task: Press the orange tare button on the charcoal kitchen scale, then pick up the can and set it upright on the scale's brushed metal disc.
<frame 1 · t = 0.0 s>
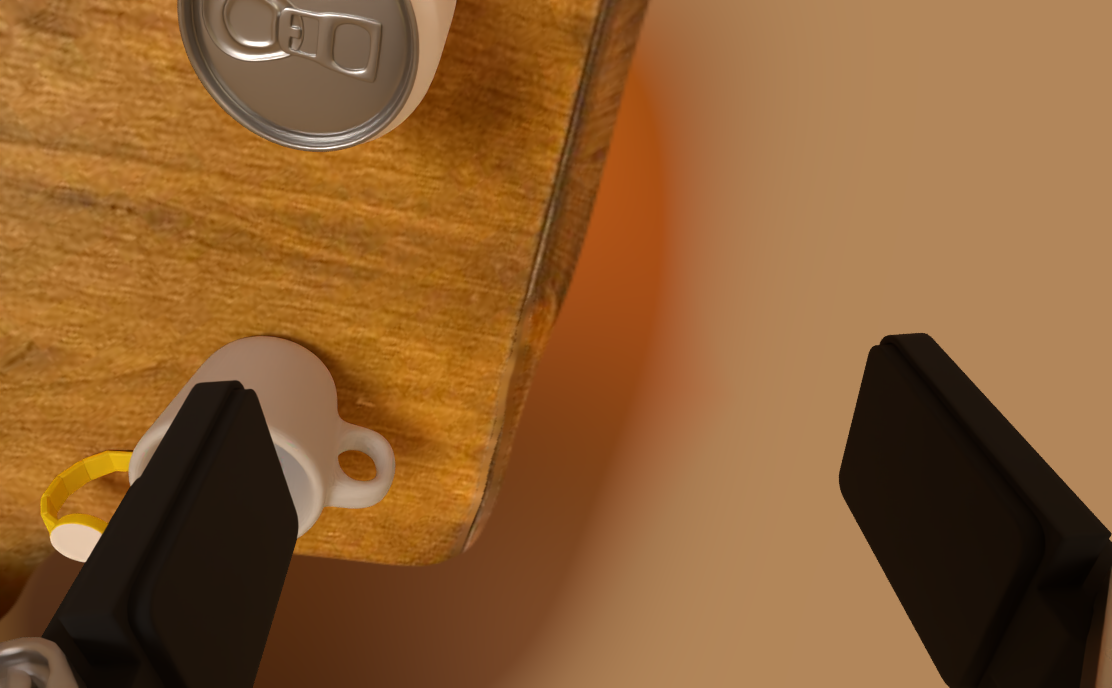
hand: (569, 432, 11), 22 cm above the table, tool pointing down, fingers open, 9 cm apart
cup: (303, 385, 38), on the table
watch: (137, 456, 40), on the table
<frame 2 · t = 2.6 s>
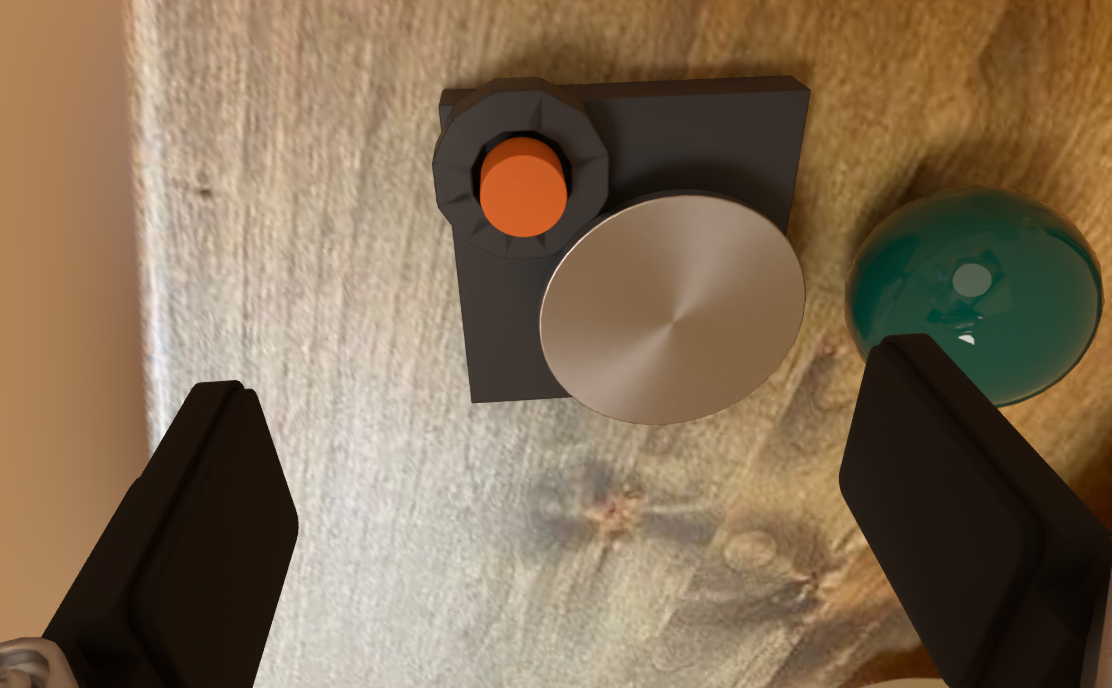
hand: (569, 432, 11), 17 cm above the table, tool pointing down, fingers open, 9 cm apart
scale: (614, 242, 28), on the table
tare button: (522, 186, 22), point 4 cm above the table, slide at 0.1 cm
sphere: (907, 247, 29), on the table
brushed metal disc: (669, 313, 26), resting on scale
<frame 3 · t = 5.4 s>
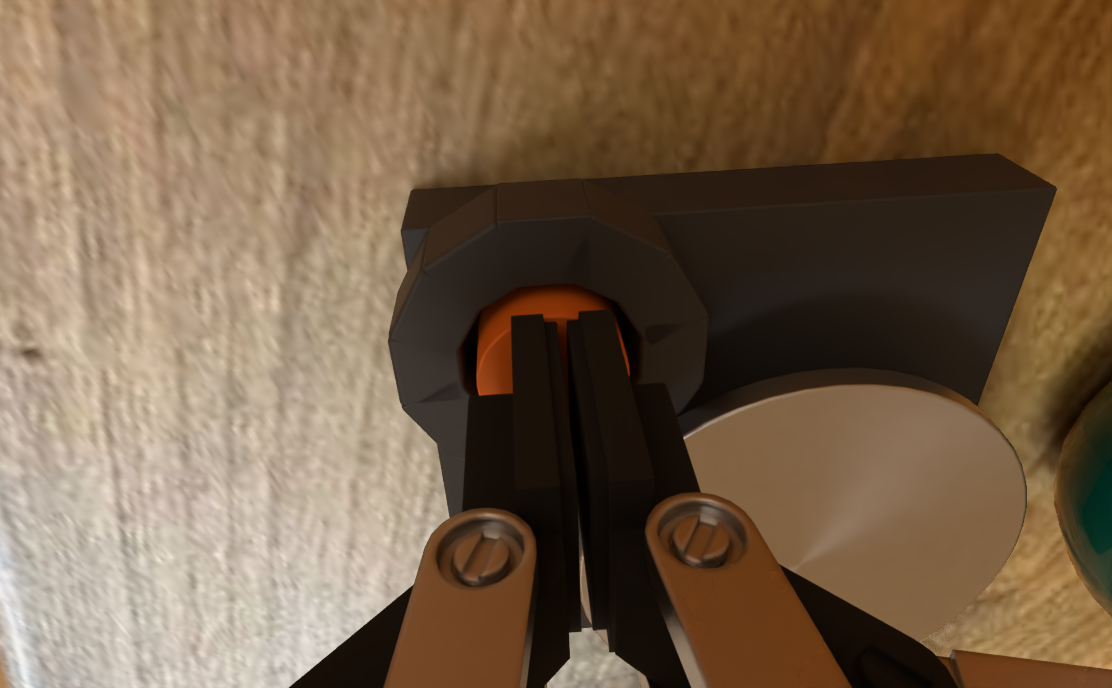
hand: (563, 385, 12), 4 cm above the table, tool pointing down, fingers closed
scale: (689, 403, 18), on the table
tare button: (550, 352, 13), point 3 cm above the table, slide at -0.7 cm, touching gripper
brushed metal disc: (790, 542, 16), resting on scale
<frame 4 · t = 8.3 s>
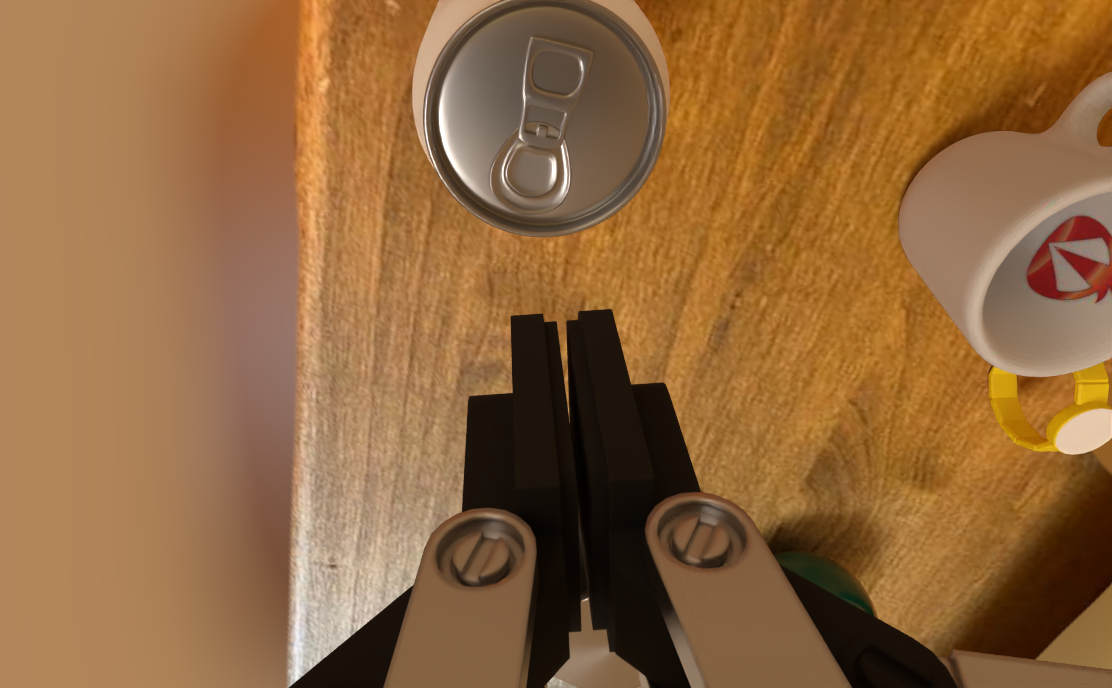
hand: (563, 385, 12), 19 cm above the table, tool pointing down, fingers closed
cup: (982, 167, 31), on the table
sphere: (779, 564, 45), on the table
can: (528, 27, 27), on the table
brushed metal disc: (619, 634, 42), resting on scale
watch: (1007, 350, 37), on the table
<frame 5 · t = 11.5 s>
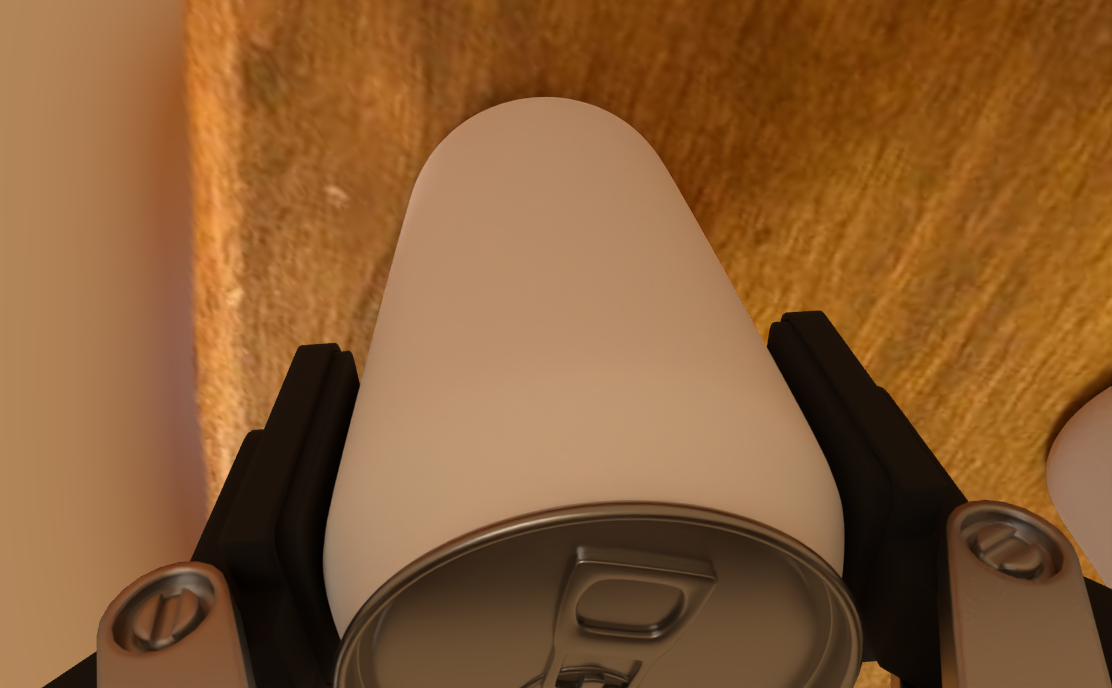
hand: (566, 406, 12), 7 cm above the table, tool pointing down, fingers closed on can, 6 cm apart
can: (542, 222, 18), on the table, touching gripper
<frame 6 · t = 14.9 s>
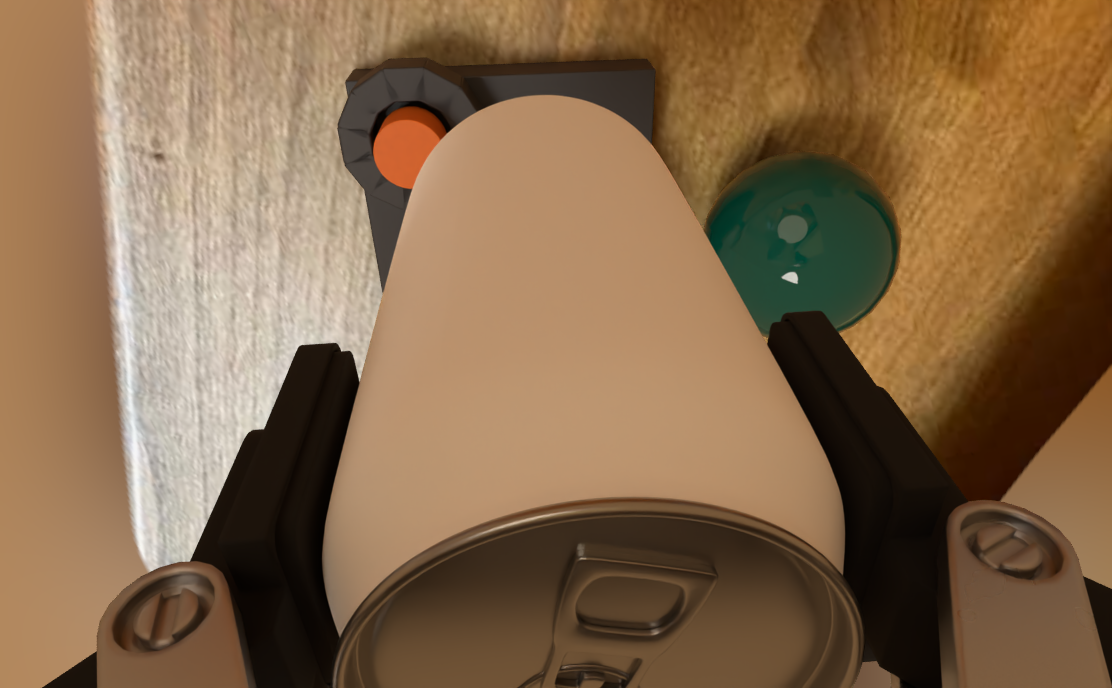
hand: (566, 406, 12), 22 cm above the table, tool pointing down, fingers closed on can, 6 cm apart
scale: (510, 202, 33), on the table
tare button: (411, 147, 27), point 4 cm above the table, slide at 0.1 cm
sphere: (766, 209, 34), on the table
can: (542, 221, 18), point 14 cm above the table, touching gripper
when the fingers open (11 cm above the table, at t = 18.4 s): can stays where it is, resting on brushed metal disc.
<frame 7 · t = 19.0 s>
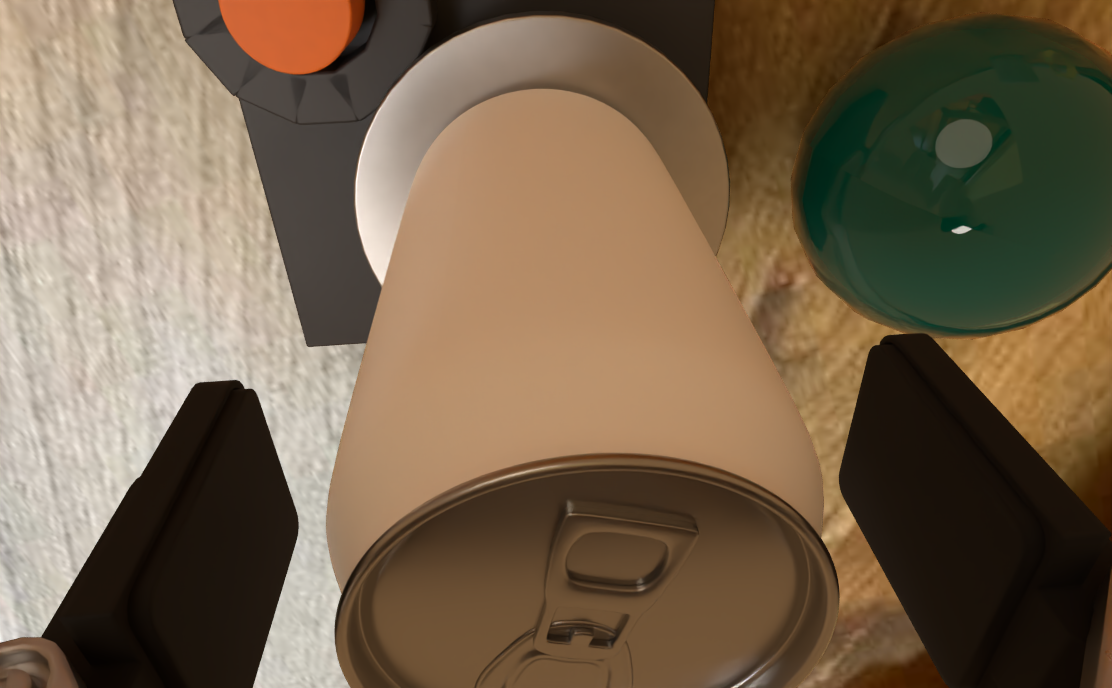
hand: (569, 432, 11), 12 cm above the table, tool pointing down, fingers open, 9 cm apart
scale: (483, 124, 21), on the table
tare button: (295, 0, 15), point 4 cm above the table, slide at 0.1 cm
sphere: (881, 133, 22), on the table
can: (540, 212, 18), point 4 cm above the table, touching brushed metal disc
brushed metal disc: (543, 208, 19), resting on scale
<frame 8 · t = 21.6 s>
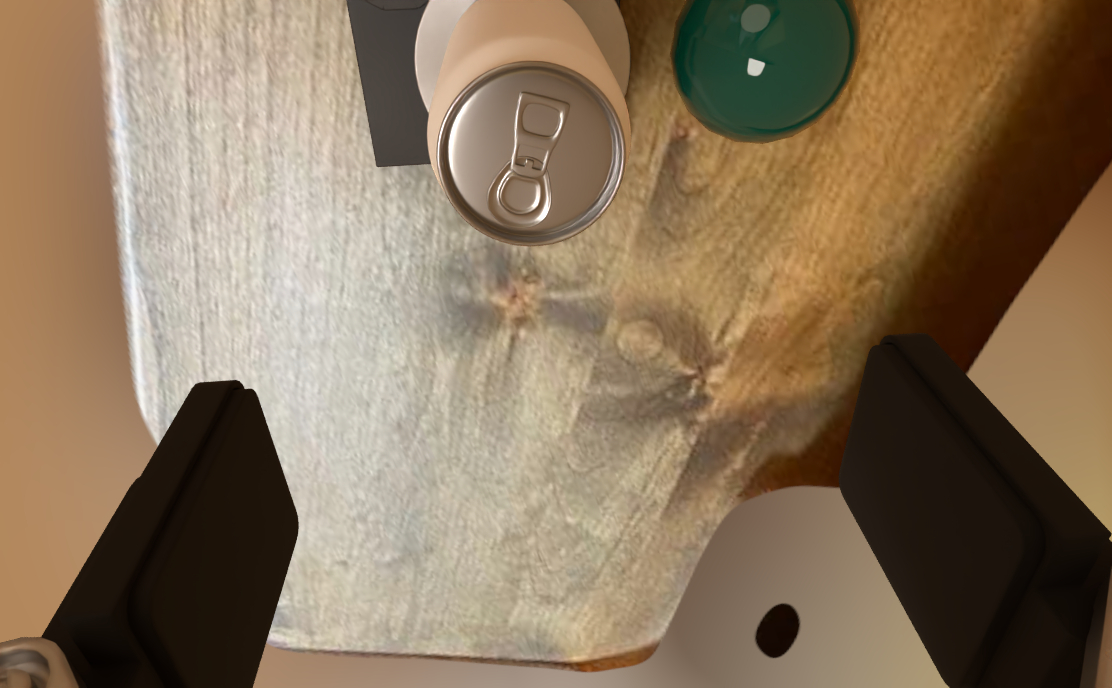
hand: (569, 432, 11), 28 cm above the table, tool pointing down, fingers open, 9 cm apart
scale: (487, 22, 34), on the table
sphere: (736, 31, 35), on the table
can: (521, 65, 31), point 4 cm above the table, touching brushed metal disc
brushed metal disc: (523, 64, 32), resting on scale
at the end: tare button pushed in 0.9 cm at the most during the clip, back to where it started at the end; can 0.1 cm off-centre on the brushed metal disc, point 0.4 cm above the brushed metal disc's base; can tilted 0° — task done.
